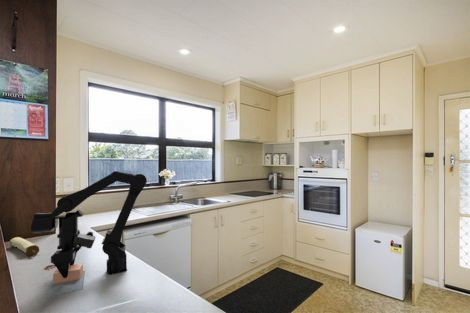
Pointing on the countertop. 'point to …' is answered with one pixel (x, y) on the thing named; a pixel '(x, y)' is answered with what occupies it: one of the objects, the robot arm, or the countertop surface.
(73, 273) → the card box
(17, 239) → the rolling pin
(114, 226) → the robot arm
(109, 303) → the countertop surface
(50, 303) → the countertop surface
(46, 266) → the key
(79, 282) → the mat
